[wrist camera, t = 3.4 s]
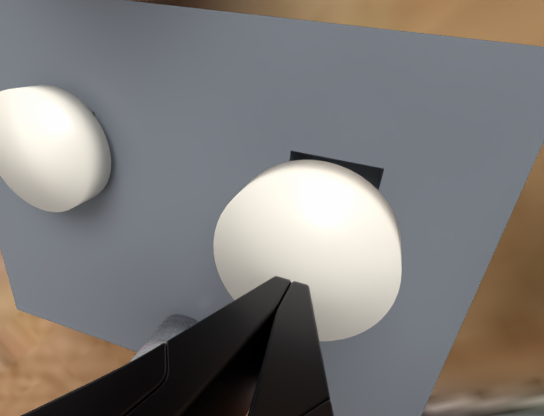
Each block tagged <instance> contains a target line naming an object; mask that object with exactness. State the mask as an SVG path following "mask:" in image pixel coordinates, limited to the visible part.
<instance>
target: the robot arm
mask: <svg viewBox="0 0 544 416" xmlns="http://www.w3.org/2000/svg"><path fill="white" fill-rule="evenodd" d="M249 408H250V410H249ZM248 410H249V413H248V416H334V414H333V409H332V403H331V401H330V394H329V388H328V383H327V378H326V373H325V367H324V362H323V357H322V351H321V346H320V341H319V336H318V330H317V325H316V320H315V314H314V309H313V304H312V299H311V293H310V288H309V286H308V285H307V284H303V283H300V282H296V281H293V282H292V283H291V281H290V280H289V279H286V278H282V277H279V276H274V277H272V278H271V279H269V280H267V281H266V282H264V283H262V284H261V285H259V286H257V287H256V288H254V289H252V290H251V291H249V292H247V293H246V294H244V295H242V296H241V297H239V298H237V299H236V300H234V301H232V302H231V303H229V304H227V305H226V306H224V307H222V308H221V309H219V310H217V311H216V312H214V313H212V314H211V315H209V316H207V317H206V318H204V319H202V320H201V321H199V322H198V323H196V324H194V325H193V326H191V327H189V328H188V329H186V330H184V331H183V332H181V333H179V334H178V335H176V336H174V337H173V338H171V339H169V340H168V341H167V342H166V343H162V344H161V345H159V346H157V347H156V348H154V349H152V350H151V351H149V352H147V353H145V354H144V355H142V356H140V357H138V358H137V359H135V360H133V361H131V362H130V363H128V364H126V365H124V366H122V367H120V368H118V369H116V370H114V371H112V372H110V373H108V374H106V375H104V376H102V377H100V378H98V379H96V380H94V381H92V382H90V383H88V384H86V385H84V386H82V387H80V388H78V389H76V390H73V391H71V392H69V393H67V394H65V395H63V396H61V397H59V398H57V399H55V400H53V401H51V402H49V403H46V404H44V405H42V406H40V407H38V408H36V409H34V410H32V411H30V412H28V413H25V414H23V415H21V416H246V414H247V412H248Z"/></svg>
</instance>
